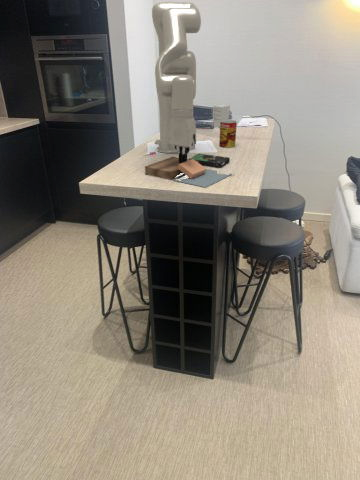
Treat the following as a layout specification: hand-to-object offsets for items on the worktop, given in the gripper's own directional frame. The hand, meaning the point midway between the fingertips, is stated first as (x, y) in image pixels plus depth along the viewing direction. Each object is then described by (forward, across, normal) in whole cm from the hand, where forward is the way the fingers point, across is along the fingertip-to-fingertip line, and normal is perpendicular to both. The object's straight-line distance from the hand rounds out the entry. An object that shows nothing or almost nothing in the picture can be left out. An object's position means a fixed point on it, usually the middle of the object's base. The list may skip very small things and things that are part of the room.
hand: (182, 163), depth 143 cm
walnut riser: (+4, -5, 0) cm, 6 cm away
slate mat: (+4, +9, 0) cm, 10 cm away
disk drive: (+5, 0, +19) cm, 19 cm away
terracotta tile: (+2, +4, 0) cm, 5 cm away
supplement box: (+4, -38, +93) cm, 101 cm away
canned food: (+4, -9, +50) cm, 51 cm away
